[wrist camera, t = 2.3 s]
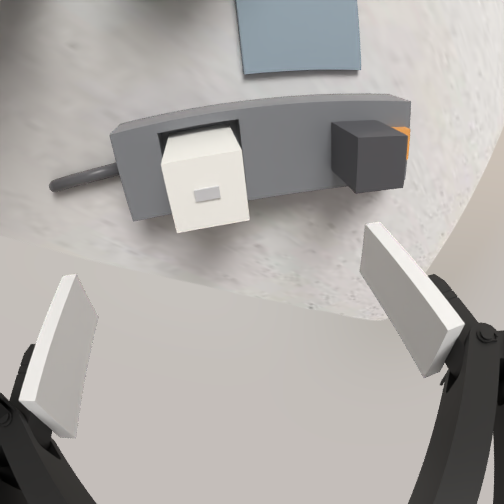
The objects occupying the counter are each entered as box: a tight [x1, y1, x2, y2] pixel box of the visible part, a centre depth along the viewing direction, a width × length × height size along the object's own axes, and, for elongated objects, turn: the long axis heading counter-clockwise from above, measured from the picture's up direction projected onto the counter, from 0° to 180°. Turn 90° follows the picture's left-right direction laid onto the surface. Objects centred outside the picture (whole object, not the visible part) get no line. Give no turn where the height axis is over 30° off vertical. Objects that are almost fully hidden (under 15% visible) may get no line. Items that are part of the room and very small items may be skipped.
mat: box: [235, 0, 361, 74], centre depth 22 cm, size 11×11×1 cm
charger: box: [161, 124, 250, 233], centre depth 24 cm, size 5×5×8 cm
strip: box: [49, 94, 411, 222], centre depth 25 cm, size 35×8×9 cm, turn 96°
